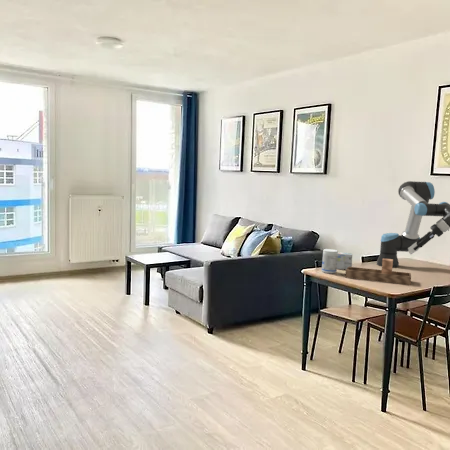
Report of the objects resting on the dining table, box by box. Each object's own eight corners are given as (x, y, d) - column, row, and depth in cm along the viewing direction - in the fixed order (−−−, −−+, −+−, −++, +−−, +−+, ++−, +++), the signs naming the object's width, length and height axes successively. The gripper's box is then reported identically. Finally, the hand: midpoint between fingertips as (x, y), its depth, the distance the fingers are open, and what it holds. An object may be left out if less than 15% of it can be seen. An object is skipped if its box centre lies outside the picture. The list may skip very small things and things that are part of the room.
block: (391, 275, 297) (393, 259, 296) (391, 276, 292) (392, 260, 291) (381, 274, 299) (382, 258, 298) (381, 275, 294) (382, 259, 293)
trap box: (410, 280, 297) (410, 273, 296) (410, 284, 285) (411, 276, 285) (347, 274, 310) (348, 266, 309) (345, 277, 298) (346, 269, 298)
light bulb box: (350, 268, 330) (351, 252, 329) (351, 270, 323) (352, 254, 322) (334, 267, 331) (335, 252, 330) (335, 269, 324) (336, 253, 323)
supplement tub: (319, 270, 317) (321, 248, 316) (333, 270, 318) (335, 249, 317) (324, 273, 308) (325, 251, 306) (338, 274, 309) (340, 251, 307)
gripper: (445, 235, 271) (414, 259, 278) (442, 230, 293) (413, 253, 300) (436, 225, 272) (405, 249, 279) (434, 221, 294) (404, 244, 301)
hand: (409, 251), depth 290 cm, fingers open, 10 cm apart
